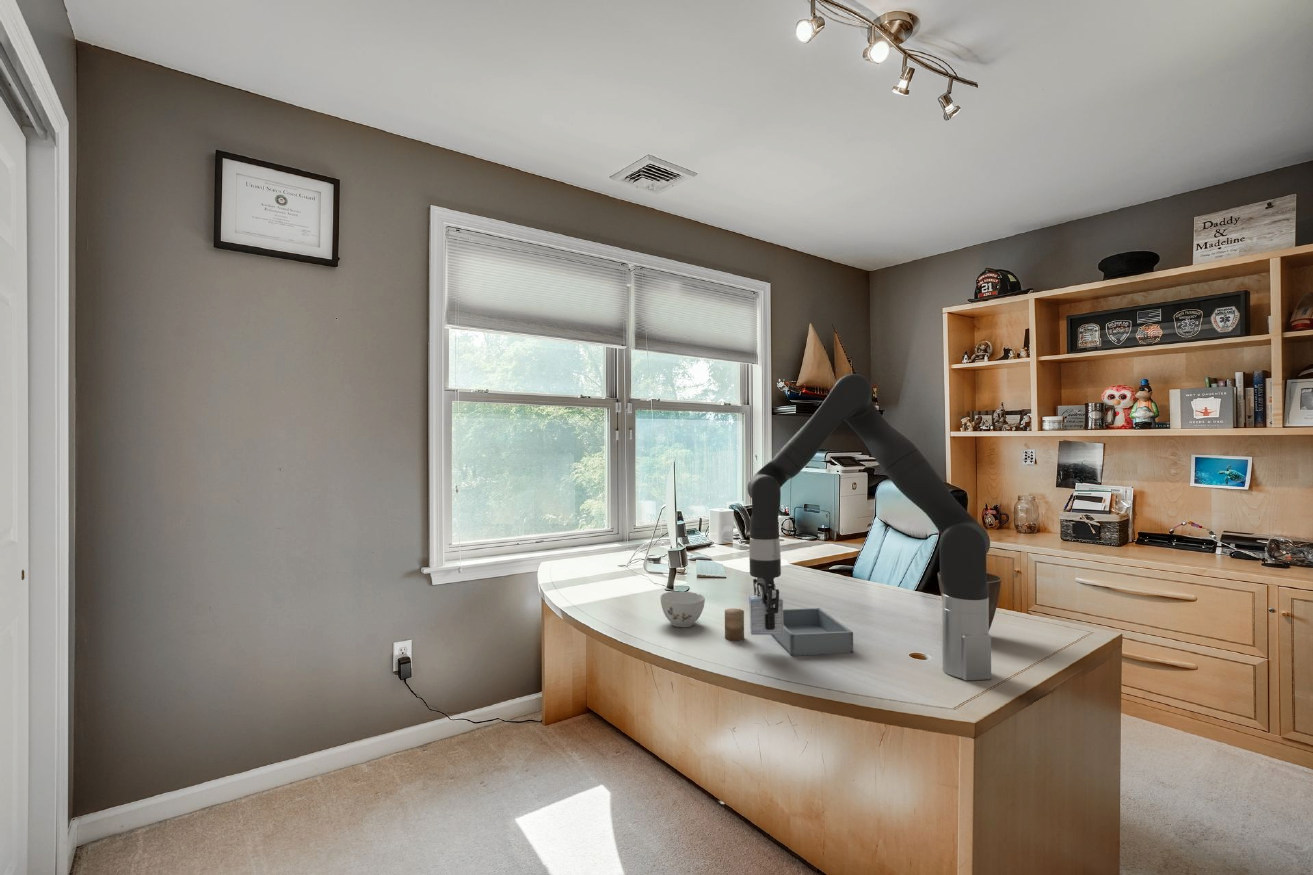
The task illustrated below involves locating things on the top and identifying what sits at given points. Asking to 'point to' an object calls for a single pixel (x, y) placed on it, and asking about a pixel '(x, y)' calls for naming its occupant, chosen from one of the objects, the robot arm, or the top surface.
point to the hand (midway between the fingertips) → (766, 625)
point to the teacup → (682, 607)
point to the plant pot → (994, 591)
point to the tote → (813, 633)
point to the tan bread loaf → (734, 624)
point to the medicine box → (759, 617)
